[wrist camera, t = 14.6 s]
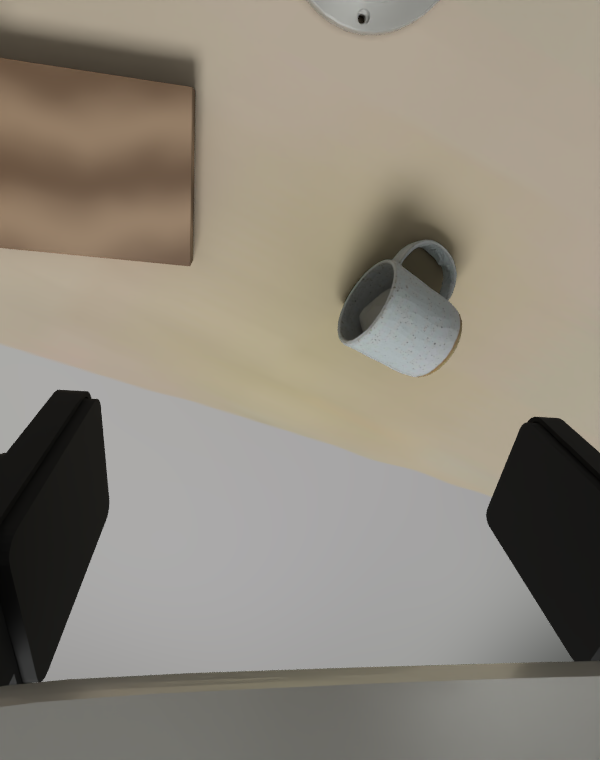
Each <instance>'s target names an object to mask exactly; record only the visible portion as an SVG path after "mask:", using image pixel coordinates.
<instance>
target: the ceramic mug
mask: <svg viewBox="0 0 600 760" xmlns="http://www.w3.org/2000/svg"><path fill="white" fill-rule="evenodd" d="M418 247H420V248H423V249H425V250H426V251H427V252H428V253H429V254H430V255H431V256H433V257H434V258H435V260H436V261H437V263H438V265H440V266H442V270H443V282H442V287H441V290H440V293H437V292H436V291H434V290H433V289H431V288H430V287H428V286H427V285H426V284H425V283H423V282H422V281H421V280H420V279H418V278H417V277H416V276H414V275H413V274H412V273H410V272H409V271H408V270H406V269H405V268H404V267H402V262H403V260H404V259H405V258H406V257H407V256H408V255H409V254H410V253H411V252H412V251H413V250H414V249H416V248H418ZM456 276H457V273H456V267H455V263H454V260H453V258H452V256H451V255H450V254H449V252H448V251H447V250H446V249H445V248H444V247H443V246H442V245H441V244H439V243H437V242H435V241H433V240H421V241H417V242H413V243H411V244H408V245H407V246H405V247H404V248H402V249H401V250H400V251H399V252H398V253H397V254H396V256H395V257H394V258H393V259H392V260H390V259H386V260H383V261H380V262H378V263H377V264H375V265H374V266H373V267H372V268H370V269H369V270H368V271H367V272H366V273H365V274H364V275H363V276H362V277H361V279H360V280H359V281H358V282H357V284H356V285H355V286H354V288H353V289H352V291H351V292H350V294H349V296H348V298H347V300H346V301H345V303H344V306H343V309H342V311H341V314H340V317H339V321H338V336H339V339H340V340H341V342H342V343H343V344H345V345H346V346H348V347H351V348H353V349H355V350H357V351H358V352H360V353H362V354H364V355H366V356H368V357H370V358H372V359H374V360H376V361H378V362H380V363H382V364H384V365H386V366H388V367H390V368H391V369H393V370H395V371H398V372H400V373H402V374H406V375H409V376H412V377H423V376H426V375H429V374H431V373H433V372H435V371H437V370H438V369H440V368H441V367H442V366H443V365H444V364H445V363H446V362H447V361H448V360H449V358H450V357H451V356H452V354H453V353H454V351H455V349H456V348H457V345H458V343H459V340H460V337H461V332H462V320H461V317H460V314H459V313H458V311H457V310H456V308H455V307H454V306H453V305H452V304H451V303H450V302H449V301H448V300H449V298H450V297H451V295H452V293H453V290H454V287H455V283H456Z"/></svg>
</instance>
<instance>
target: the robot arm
mask: <svg viewBox="0 0 600 760" xmlns="http://www.w3.org/2000/svg"><path fill="white" fill-rule="evenodd" d="M307 1H308V3H309V4H310V5H311V6H312V7H313V9H314V10H315V11H316V12H317V13H319V14H320V15H321V16H322V17H323V18H325V19H326V20H327V21H328V22H330V23H331V24H333V25H335V26H337V27H339V28H341V29H343V30H345V31H348V32H352V33H356V34H360V35H382V34H386V33H390V32H394V31H398V30H400V29H402V28H404V27H406V26H408V25H410V24H412V23H413V22H415V21H416V20H417V19H419V18H420V17H422V16H423V15H425V14H426V13H427V12H428V11H429V10H430V9H431V8H432V7H433V6H434V5H435V4H436V3H437V2H438V1H440V0H307ZM358 16H363V17H364V23H363V24H360V23H359V21H358ZM102 427H103V426H102V415H101V405H100V402H99V400H98V399H91V396H90V393H89V392H87V391H69V390H57V391H55V392H54V393H53V395H52V396H51V397H50V399H49V400H48V401H47V403H46V404H45V405H44V406H43V407H42V409H41V410H40V411H39V412H38V414H37V415H36V416H35V417H34V419H33V420H32V421H31V422H30V424H29V425H28V427H27V428H26V429H25V430H24V431H23V433H22V434H21V435H20V436H19V438H18V439H17V440H16V441H15V443H14V444H13V445H12V446H11V448H10V449H9V450H8V451H7V453H3V454H0V760H600V453H599V452H598V451H597V450H596V449H595V448H594V447H593V446H591V445H590V444H589V443H588V442H587V441H586V440H585V439H583V438H582V437H581V436H580V435H579V434H578V433H577V432H576V431H574V430H573V429H572V428H571V427H570V426H569V425H568V424H566V423H565V422H564V421H563V420H561V419H559V418H547V417H533V418H531V419H530V420H529V421H528V422H527V423H524V424H523V425H522V426H521V428H520V430H519V433H518V435H517V437H516V440H515V442H514V445H513V447H512V450H511V452H510V455H509V457H508V460H507V462H506V464H505V467H504V469H503V472H502V474H501V477H500V479H499V482H498V484H497V487H496V489H495V491H494V494H493V496H492V499H491V501H490V504H489V506H488V509H487V514H486V517H487V521H488V524H489V527H490V528H491V530H492V531H493V533H494V535H495V536H496V538H497V539H498V541H499V543H500V544H501V546H502V547H503V549H504V551H505V552H506V554H507V555H508V557H509V559H510V560H511V562H512V563H513V565H514V567H515V568H516V570H517V571H518V573H519V574H520V576H521V578H522V579H523V581H524V582H525V584H526V586H527V587H528V589H529V591H530V592H531V594H532V595H533V597H534V599H535V600H536V602H537V603H538V605H539V606H540V608H541V610H542V611H543V613H544V614H545V616H546V618H547V619H548V621H549V622H550V624H551V626H552V627H553V629H554V630H555V632H556V634H557V635H558V637H559V638H560V640H561V642H562V643H563V645H564V646H565V648H566V650H567V651H568V653H569V654H570V656H571V657H572V659H573V660H574V661H575V662H534V663H497V664H461V665H425V666H390V667H359V668H358V667H357V668H327V669H297V670H270V671H269V670H268V671H239V672H212V673H211V672H209V673H183V674H163V675H145V676H126V677H106V678H87V679H68V680H59V681H48V682H41V681H43V679H44V678H45V676H46V674H47V672H48V669H49V667H50V664H51V661H52V659H53V656H54V654H55V651H56V649H57V646H58V643H59V641H60V638H61V636H62V633H63V630H64V628H65V625H66V622H67V620H68V618H69V615H70V612H71V610H72V607H73V605H74V602H75V599H76V597H77V594H78V592H79V589H80V586H81V583H82V581H83V579H84V576H85V573H86V571H87V568H88V565H89V563H90V560H91V557H92V555H93V552H94V550H95V547H96V545H97V542H98V540H99V537H100V534H101V532H102V529H103V527H104V524H105V521H106V518H107V515H108V510H109V492H108V483H107V472H106V471H107V470H106V459H105V448H104V437H103V428H102ZM34 682H38V683H34Z"/></svg>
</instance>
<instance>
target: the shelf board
mask: <svg viewBox="0 0 600 760" xmlns="http://www.w3.org/2000/svg"><path fill="white" fill-rule="evenodd" d="M194 142H195V90H194V89H193V88H192V87H188V86H182V85H175V84H169V83H162V82H156V81H149V80H143V79H136V78H129V77H123V76H116V75H110V74H103V73H97V72H90V71H84V70H77V69H70V68H64V67H57V66H51V65H44V64H38V63H31V62H25V61H18V60H11V59H5V58H0V248H8V249H18V250H28V251H39V252H49V253H59V254H70V255H80V256H90V257H100V258H111V259H121V260H131V261H142V262H152V263H162V264H172V265H183V266H190V265H191V263H192V261H193V213H194Z"/></svg>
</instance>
